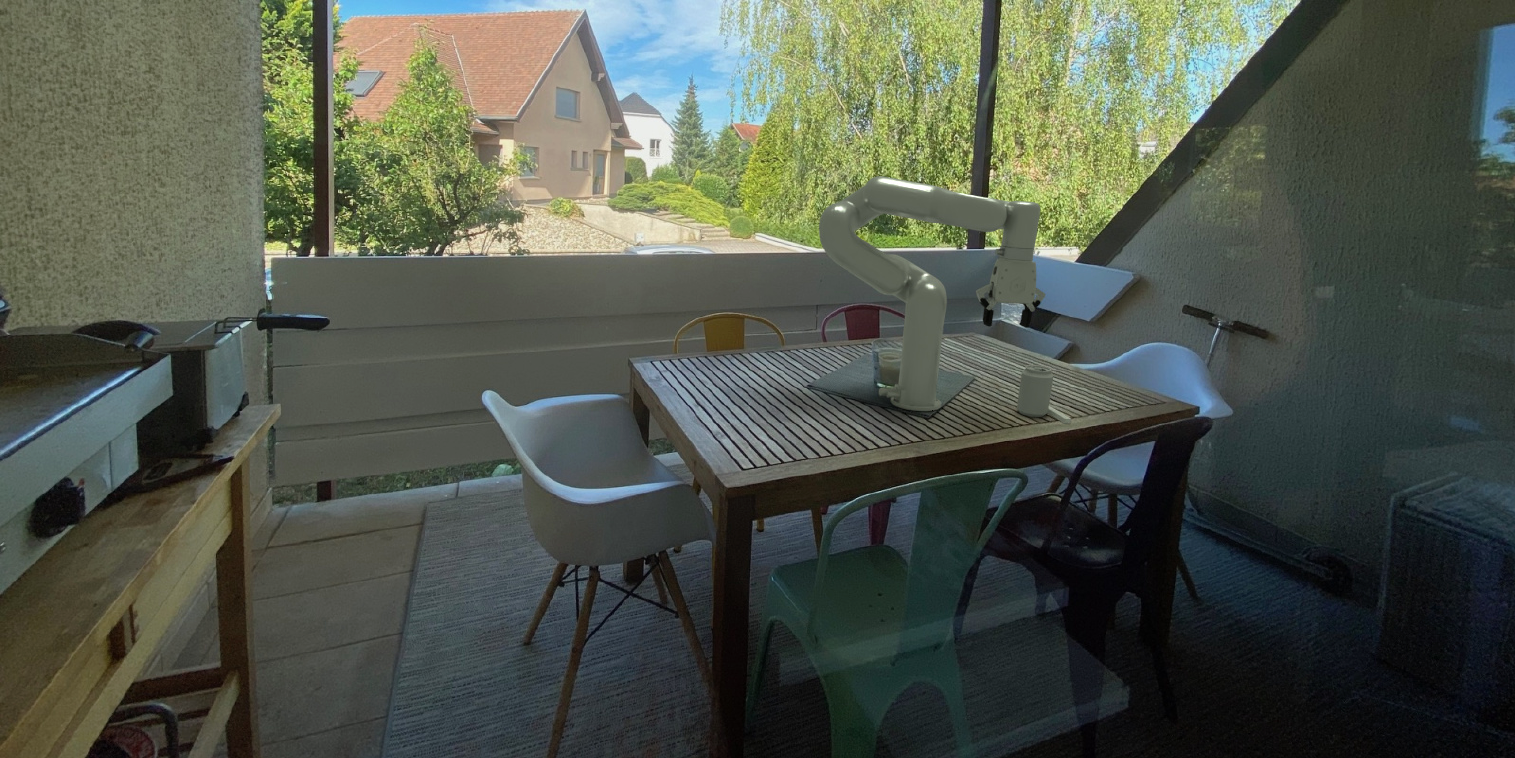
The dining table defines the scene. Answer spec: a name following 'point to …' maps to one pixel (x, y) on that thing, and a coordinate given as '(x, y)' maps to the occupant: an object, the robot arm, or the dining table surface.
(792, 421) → the dining table surface
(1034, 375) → the can
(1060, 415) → the stop strip
